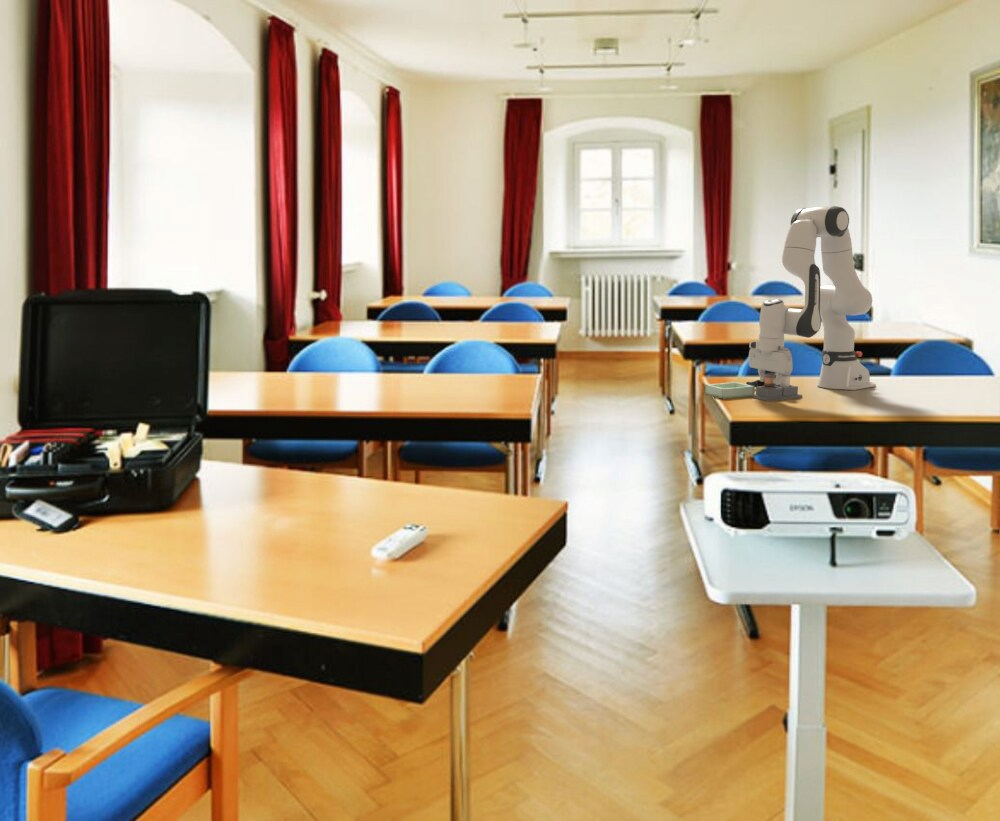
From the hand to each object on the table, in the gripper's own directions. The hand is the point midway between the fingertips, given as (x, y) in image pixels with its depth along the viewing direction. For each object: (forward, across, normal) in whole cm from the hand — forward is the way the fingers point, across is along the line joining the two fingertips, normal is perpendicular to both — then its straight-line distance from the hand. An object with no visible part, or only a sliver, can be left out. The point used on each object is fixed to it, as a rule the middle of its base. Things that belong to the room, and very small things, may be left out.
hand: (769, 383), depth 369 cm
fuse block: (+6, 0, -4) cm, 7 cm away
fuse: (+5, 0, -7) cm, 8 cm away
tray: (+6, +12, +8) cm, 16 cm away
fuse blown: (+5, 0, 0) cm, 5 cm away
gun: (+6, +14, -10) cm, 18 cm away
